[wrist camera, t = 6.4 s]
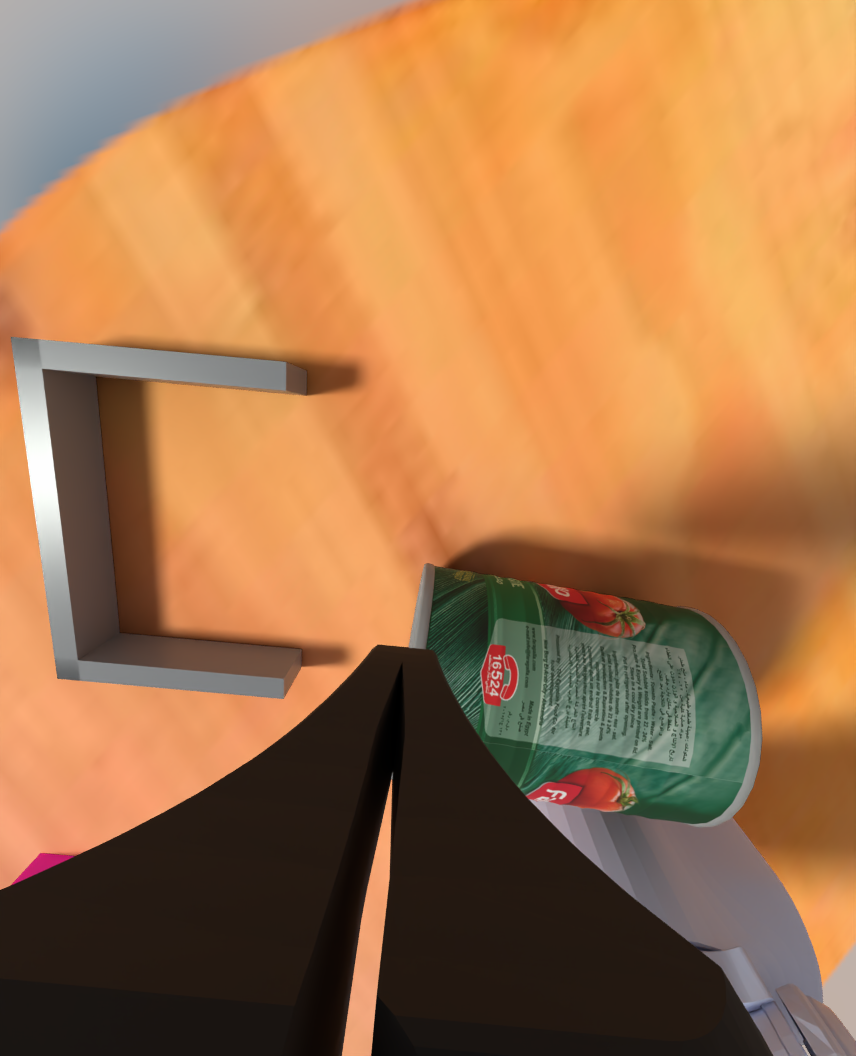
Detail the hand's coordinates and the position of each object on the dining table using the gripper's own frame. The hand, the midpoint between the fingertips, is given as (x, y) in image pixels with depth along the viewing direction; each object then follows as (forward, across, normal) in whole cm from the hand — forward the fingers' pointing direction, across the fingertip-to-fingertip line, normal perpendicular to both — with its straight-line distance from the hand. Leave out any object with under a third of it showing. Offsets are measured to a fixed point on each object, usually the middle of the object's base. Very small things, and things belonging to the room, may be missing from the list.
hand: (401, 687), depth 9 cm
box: (+10, +10, 0) cm, 14 cm away
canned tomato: (+6, 0, +3) cm, 7 cm away
